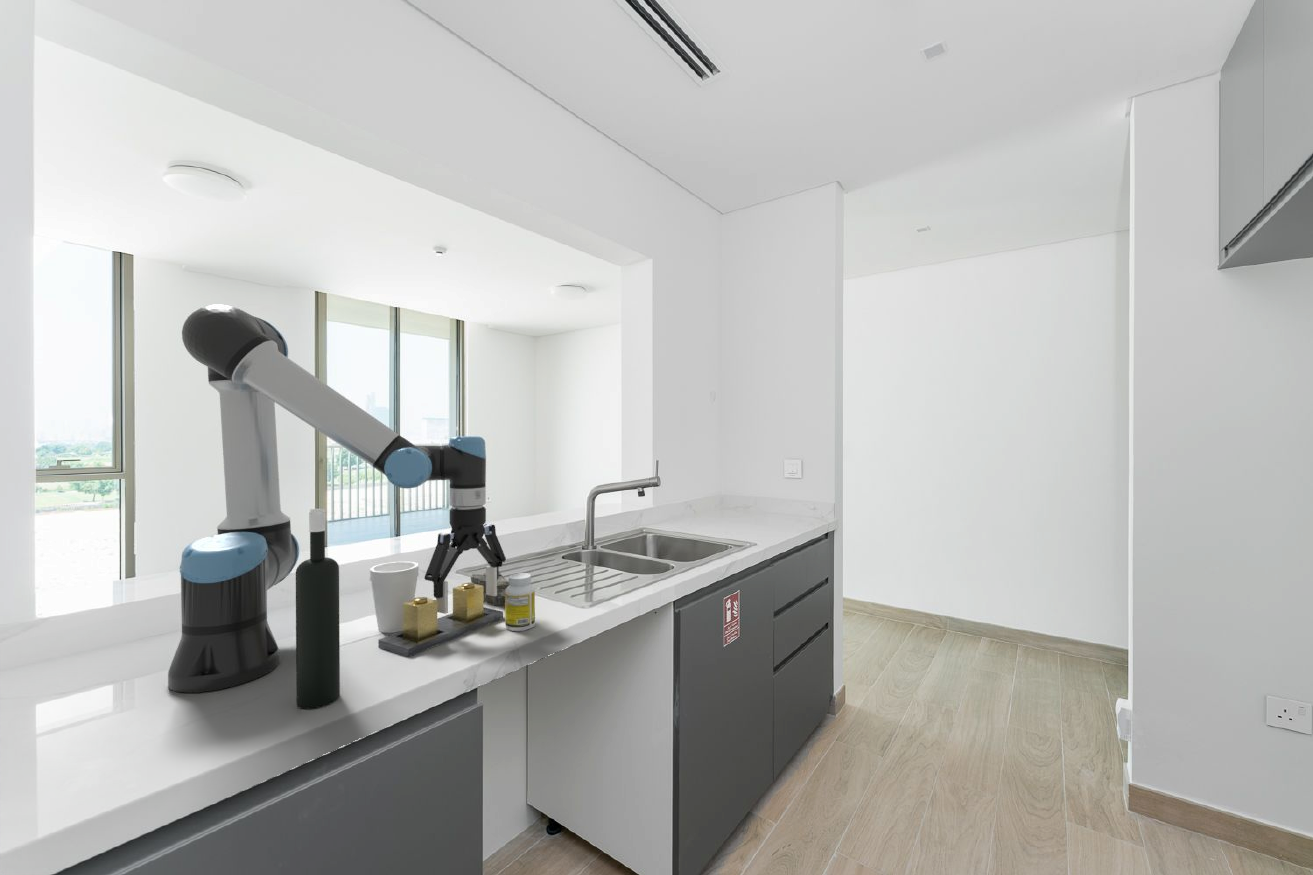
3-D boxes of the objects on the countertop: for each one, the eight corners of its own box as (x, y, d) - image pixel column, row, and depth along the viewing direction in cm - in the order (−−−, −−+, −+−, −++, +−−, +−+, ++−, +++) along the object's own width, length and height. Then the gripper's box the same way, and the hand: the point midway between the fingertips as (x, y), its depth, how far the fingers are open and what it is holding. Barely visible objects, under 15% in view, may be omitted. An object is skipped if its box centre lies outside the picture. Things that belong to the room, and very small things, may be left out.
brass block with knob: (417, 647, 106) (417, 603, 106) (403, 643, 108) (403, 600, 108) (437, 639, 110) (437, 597, 110) (422, 635, 112) (422, 594, 112)
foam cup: (364, 626, 117) (363, 566, 117) (408, 616, 123) (408, 559, 123) (379, 638, 110) (379, 574, 110) (425, 627, 117) (425, 566, 117)
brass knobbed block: (467, 628, 116) (467, 588, 116) (452, 624, 118) (452, 585, 118) (483, 621, 120) (483, 583, 120) (469, 618, 122) (469, 580, 122)
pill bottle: (520, 619, 122) (520, 570, 121) (540, 624, 118) (540, 574, 118) (498, 628, 116) (498, 576, 116) (520, 634, 113) (520, 581, 113)
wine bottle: (309, 691, 88) (308, 506, 87) (346, 690, 88) (345, 506, 88) (288, 710, 82) (286, 512, 82) (327, 708, 83) (326, 511, 82)
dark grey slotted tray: (408, 656, 101) (408, 648, 101) (378, 647, 106) (378, 639, 106) (503, 618, 122) (503, 611, 122) (475, 611, 127) (475, 605, 127)
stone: (520, 614, 137) (526, 583, 133) (496, 626, 132) (500, 595, 128) (490, 582, 144) (494, 552, 140) (465, 592, 139) (468, 562, 135)
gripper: (430, 515, 106) (430, 623, 107) (521, 501, 128) (521, 591, 128) (405, 512, 110) (406, 617, 110) (497, 499, 132) (498, 586, 132)
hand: (468, 603), depth 119 cm, fingers open, 13 cm apart
